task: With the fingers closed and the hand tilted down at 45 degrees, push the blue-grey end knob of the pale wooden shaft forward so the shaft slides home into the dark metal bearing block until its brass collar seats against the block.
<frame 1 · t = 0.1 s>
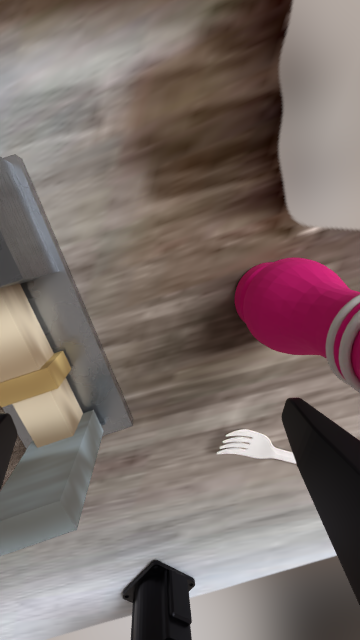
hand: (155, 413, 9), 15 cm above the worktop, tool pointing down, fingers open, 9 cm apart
fork: (293, 453, 30), on the worktop
shaft: (15, 395, 18), point 6 cm above the worktop, slide at 6.0 cm
pepper mill: (265, 296, 25), on the worktop
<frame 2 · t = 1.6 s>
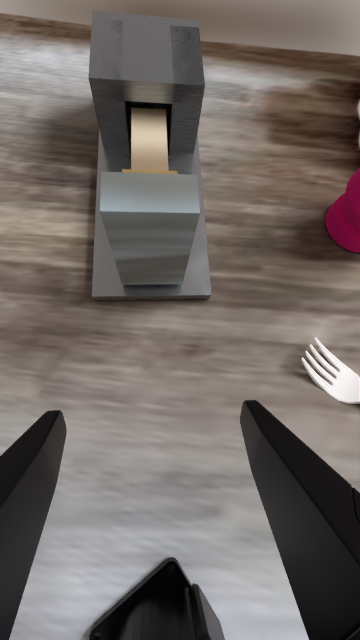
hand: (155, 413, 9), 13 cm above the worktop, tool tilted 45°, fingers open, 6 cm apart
bearing block: (149, 133, 28), on the worktop
shaft: (149, 165, 20), point 6 cm above the worktop, slide at 6.0 cm
pepper mill: (351, 227, 27), on the worktop
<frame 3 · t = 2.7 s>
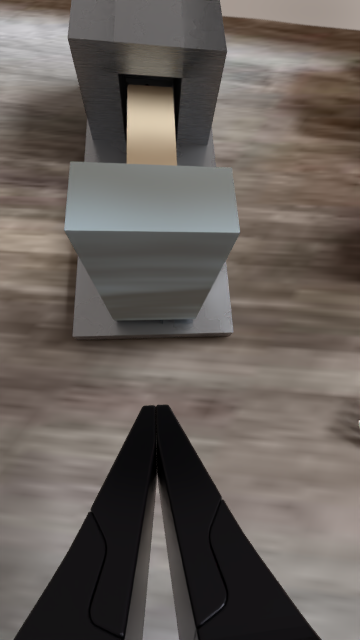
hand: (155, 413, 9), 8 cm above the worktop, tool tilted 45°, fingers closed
bearing block: (150, 121, 23), on the worktop
shaft: (152, 158, 14), point 6 cm above the worktop, slide at 6.0 cm
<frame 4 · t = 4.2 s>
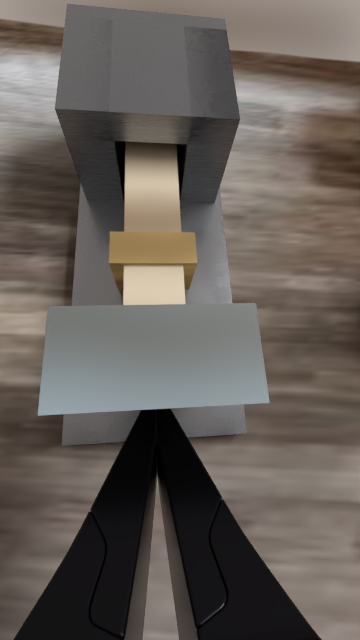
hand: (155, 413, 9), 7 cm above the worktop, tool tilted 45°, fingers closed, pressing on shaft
bearing block: (151, 173, 20), on the worktop
shaft: (153, 231, 12), point 6 cm above the worktop, slide at 4.9 cm, touching gripper
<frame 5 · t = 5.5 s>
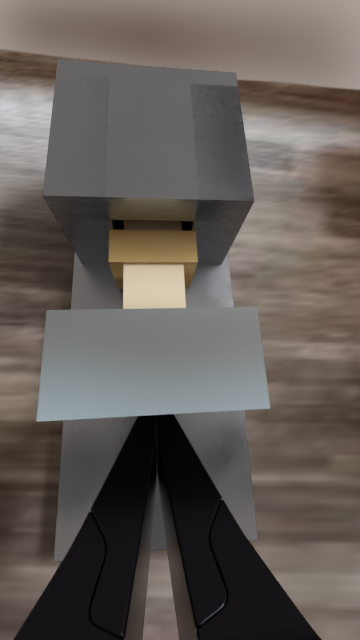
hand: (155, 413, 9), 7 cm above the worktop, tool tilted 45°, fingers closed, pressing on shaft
bearing block: (152, 226, 19), on the worktop
shaft: (153, 229, 12), point 6 cm above the worktop, slide at -0.2 cm, touching bearing block, gripper
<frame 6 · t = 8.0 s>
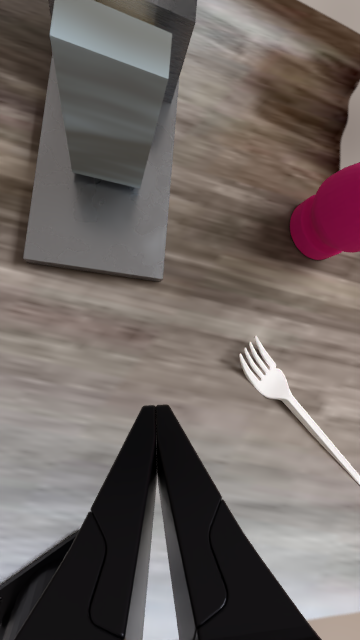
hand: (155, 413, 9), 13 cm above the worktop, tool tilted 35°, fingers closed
fork: (300, 417, 26), on the worktop
bearing block: (121, 59, 23), on the worktop
shaft: (121, 26, 17), point 6 cm above the worktop, slide at 0.0 cm
pepper mill: (312, 231, 28), on the worktop
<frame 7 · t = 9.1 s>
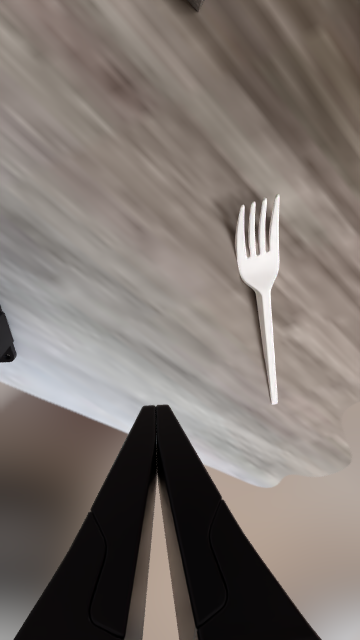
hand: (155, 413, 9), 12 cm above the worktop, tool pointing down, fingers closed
fork: (263, 320, 22), on the worktop
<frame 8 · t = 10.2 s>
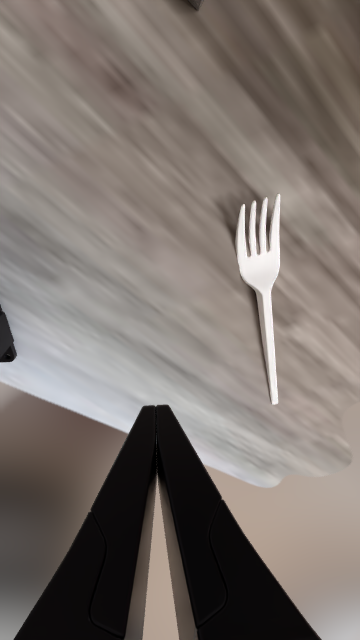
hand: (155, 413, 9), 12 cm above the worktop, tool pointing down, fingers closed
fork: (263, 320, 22), on the worktop
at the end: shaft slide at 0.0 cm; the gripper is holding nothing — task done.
